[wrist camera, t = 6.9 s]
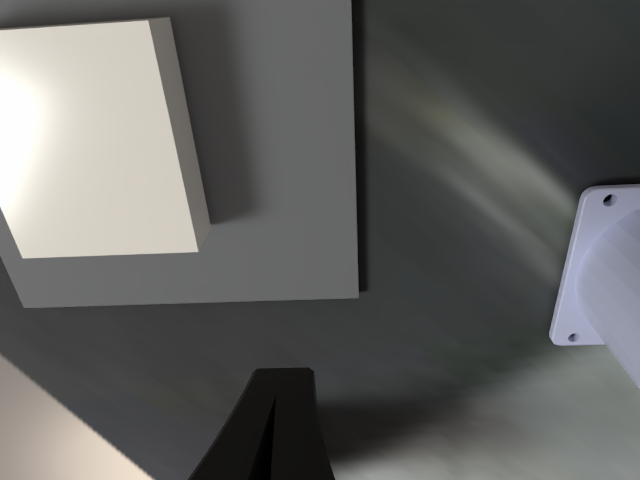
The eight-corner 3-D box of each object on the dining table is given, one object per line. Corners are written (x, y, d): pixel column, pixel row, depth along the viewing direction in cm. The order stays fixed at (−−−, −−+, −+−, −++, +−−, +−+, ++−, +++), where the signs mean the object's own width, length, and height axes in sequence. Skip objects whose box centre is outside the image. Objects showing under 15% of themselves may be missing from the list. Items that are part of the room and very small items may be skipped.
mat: (347, -146, 14) (347, -150, 13) (358, 292, 21) (358, 297, 21) (-153, -102, 15) (-165, -105, 14) (29, 303, 22) (24, 307, 22)
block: (148, 20, 14) (-75, 35, 14) (198, 252, 17) (22, 258, 18) (171, 16, 16) (-24, 29, 16) (212, 225, 19) (53, 231, 20)
